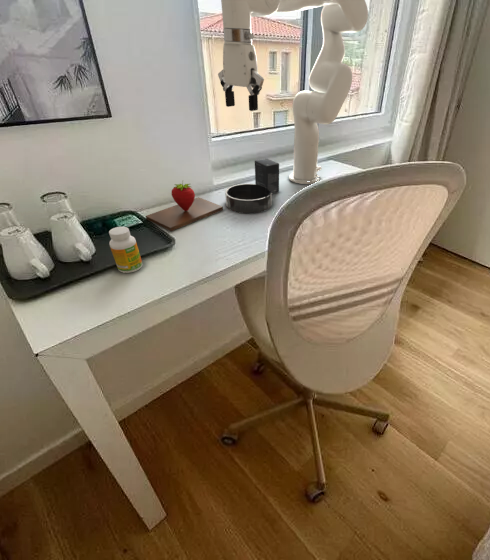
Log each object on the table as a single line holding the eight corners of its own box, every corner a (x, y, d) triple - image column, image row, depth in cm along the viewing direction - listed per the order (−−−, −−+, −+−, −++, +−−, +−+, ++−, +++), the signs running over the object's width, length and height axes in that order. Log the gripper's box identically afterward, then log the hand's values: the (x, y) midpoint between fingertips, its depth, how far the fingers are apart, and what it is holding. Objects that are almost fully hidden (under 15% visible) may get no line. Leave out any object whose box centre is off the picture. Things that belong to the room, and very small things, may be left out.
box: (279, 192, 119) (279, 163, 113) (266, 195, 116) (266, 165, 110) (267, 185, 124) (267, 157, 118) (255, 188, 121) (254, 160, 115)
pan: (248, 192, 117) (247, 180, 115) (280, 203, 110) (280, 191, 108) (216, 205, 107) (215, 192, 105) (250, 218, 100) (249, 204, 98)
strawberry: (183, 205, 103) (178, 174, 97) (201, 210, 101) (197, 178, 95) (170, 211, 99) (163, 179, 93) (188, 217, 96) (182, 184, 90)
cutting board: (199, 200, 110) (198, 197, 109) (223, 210, 104) (223, 206, 104) (146, 219, 96) (145, 215, 96) (170, 231, 91) (170, 227, 90)
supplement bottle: (134, 275, 73) (122, 237, 68) (113, 271, 74) (99, 234, 68) (147, 262, 78) (137, 226, 72) (127, 259, 78) (115, 223, 73)
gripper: (271, 39, 86) (271, 110, 96) (226, 37, 94) (230, 103, 104) (251, 38, 81) (254, 113, 91) (205, 36, 89) (213, 105, 99)
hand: (241, 108), depth 97 cm, fingers open, 9 cm apart
